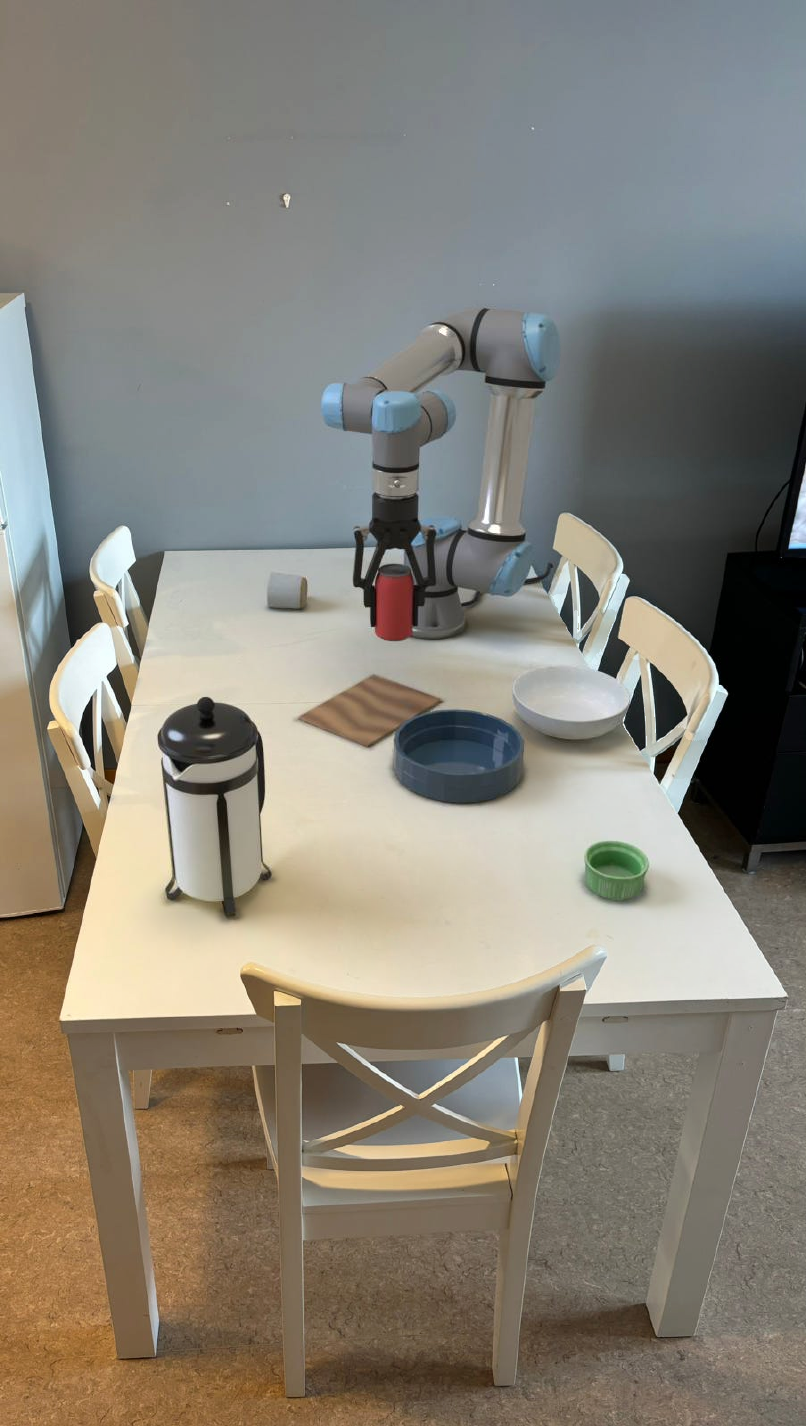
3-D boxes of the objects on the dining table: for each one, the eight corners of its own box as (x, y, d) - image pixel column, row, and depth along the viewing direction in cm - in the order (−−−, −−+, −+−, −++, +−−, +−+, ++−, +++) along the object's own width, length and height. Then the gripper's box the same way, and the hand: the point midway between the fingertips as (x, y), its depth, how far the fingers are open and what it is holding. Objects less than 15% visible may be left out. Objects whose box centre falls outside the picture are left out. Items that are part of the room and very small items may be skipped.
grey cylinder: (304, 614, 235) (303, 581, 232) (266, 612, 236) (265, 579, 232) (310, 596, 245) (310, 564, 241) (274, 594, 245) (273, 562, 241)
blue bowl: (441, 724, 193) (443, 697, 191) (545, 763, 182) (548, 735, 180) (367, 773, 178) (367, 745, 175) (475, 819, 167) (477, 789, 164)
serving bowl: (496, 740, 189) (498, 706, 185) (525, 689, 206) (528, 657, 203) (614, 764, 182) (619, 728, 179) (634, 709, 200) (639, 676, 196)
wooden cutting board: (373, 676, 209) (373, 674, 209) (441, 701, 201) (441, 698, 201) (298, 719, 194) (298, 716, 194) (367, 747, 186) (367, 745, 185)
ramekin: (603, 910, 148) (607, 884, 146) (569, 873, 155) (572, 848, 153) (657, 894, 152) (661, 869, 149) (621, 859, 159) (625, 834, 157)
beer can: (409, 644, 182) (410, 578, 176) (371, 641, 183) (371, 575, 177) (415, 628, 188) (417, 563, 182) (378, 625, 189) (379, 560, 183)
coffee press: (289, 909, 147) (282, 717, 133) (171, 929, 143) (150, 733, 128) (266, 838, 162) (258, 657, 147) (158, 854, 157) (139, 670, 143)
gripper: (335, 500, 169) (337, 633, 180) (458, 499, 170) (452, 631, 182) (334, 486, 175) (336, 615, 187) (452, 485, 177) (447, 613, 188)
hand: (393, 623), depth 184 cm, fingers closed on beer can, 6 cm apart
